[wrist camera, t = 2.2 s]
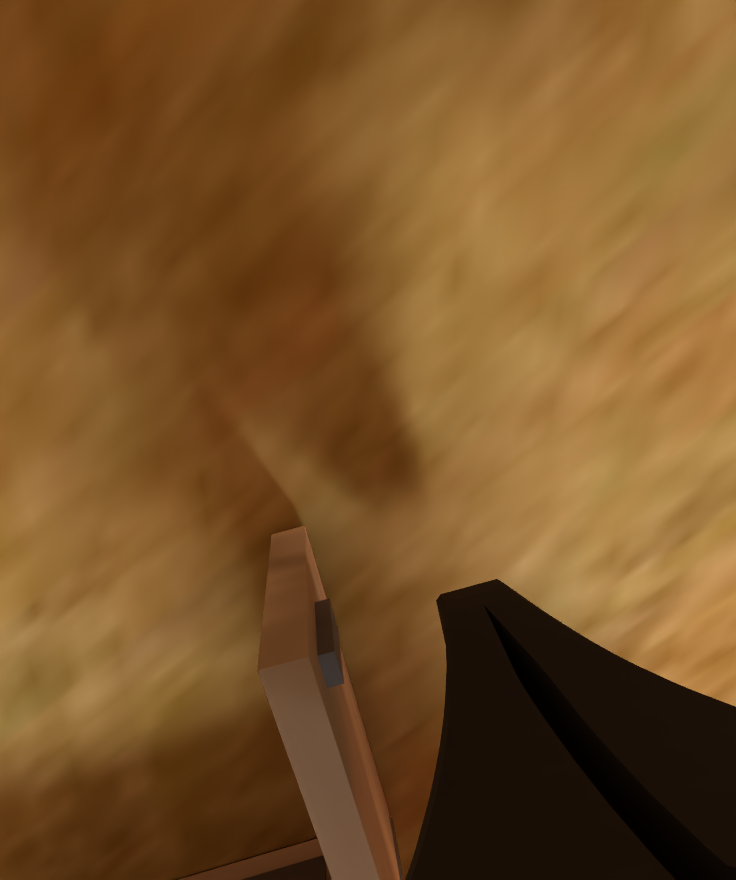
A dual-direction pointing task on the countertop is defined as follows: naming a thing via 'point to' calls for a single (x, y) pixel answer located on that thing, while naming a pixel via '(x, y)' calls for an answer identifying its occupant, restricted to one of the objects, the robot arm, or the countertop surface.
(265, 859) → the cabinet
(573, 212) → the countertop surface
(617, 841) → the robot arm
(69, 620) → the countertop surface
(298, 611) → the door
